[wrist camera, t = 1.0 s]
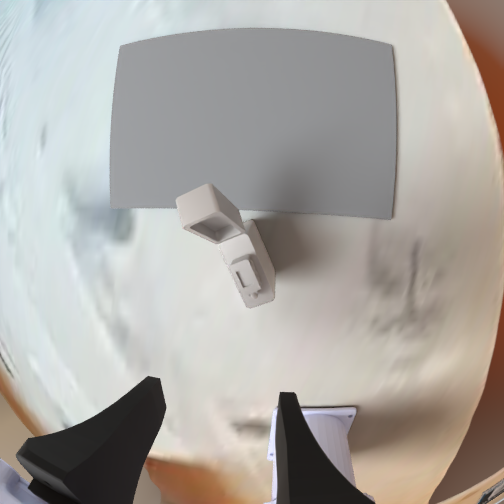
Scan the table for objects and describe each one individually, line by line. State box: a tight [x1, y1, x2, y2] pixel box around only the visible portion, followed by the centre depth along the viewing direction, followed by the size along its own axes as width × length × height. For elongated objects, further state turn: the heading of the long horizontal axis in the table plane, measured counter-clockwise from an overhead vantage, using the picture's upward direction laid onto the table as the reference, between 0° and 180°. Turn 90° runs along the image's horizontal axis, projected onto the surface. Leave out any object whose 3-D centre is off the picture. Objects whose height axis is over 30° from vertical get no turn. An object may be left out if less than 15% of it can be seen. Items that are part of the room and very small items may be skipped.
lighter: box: [176, 183, 275, 309], centre depth 15 cm, size 7×2×8 cm, turn 23°
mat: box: [110, 28, 396, 220], centre depth 17 cm, size 13×20×1 cm, turn 88°
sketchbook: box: [477, 479, 504, 504], centre depth 35 cm, size 22×30×2 cm
